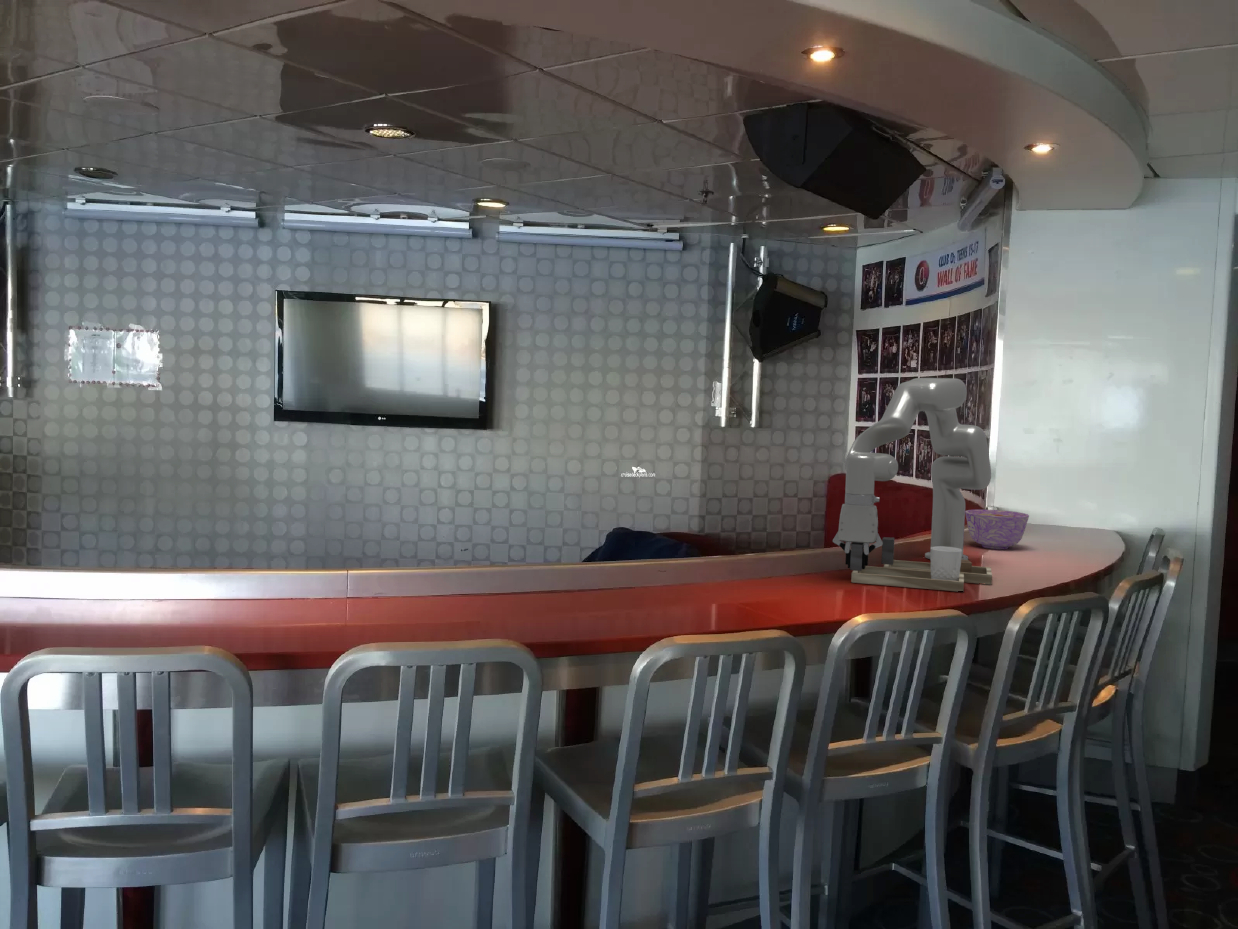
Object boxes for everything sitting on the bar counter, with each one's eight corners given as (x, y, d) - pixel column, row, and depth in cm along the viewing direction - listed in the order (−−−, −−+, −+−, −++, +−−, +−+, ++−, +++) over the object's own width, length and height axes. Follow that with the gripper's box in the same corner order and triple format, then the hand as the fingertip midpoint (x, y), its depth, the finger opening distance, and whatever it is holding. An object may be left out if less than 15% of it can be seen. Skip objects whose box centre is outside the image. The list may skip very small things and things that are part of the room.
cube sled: (883, 567, 281) (884, 535, 280) (990, 576, 271) (992, 542, 271) (879, 575, 269) (881, 541, 268) (991, 584, 259) (993, 549, 258)
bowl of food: (954, 546, 325) (955, 512, 324) (976, 540, 340) (978, 508, 340) (1015, 554, 312) (1017, 518, 311) (1035, 547, 327) (1037, 513, 327)
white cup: (956, 584, 259) (958, 547, 259) (963, 590, 252) (965, 551, 251) (925, 582, 260) (927, 545, 260) (932, 588, 252) (934, 550, 252)
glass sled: (852, 573, 270) (854, 539, 269) (963, 582, 260) (965, 547, 260) (847, 582, 258) (849, 546, 257) (963, 591, 248) (965, 555, 248)
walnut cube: (948, 576, 271) (949, 559, 270) (967, 577, 270) (968, 559, 270) (951, 580, 266) (952, 562, 265) (971, 581, 265) (971, 563, 265)
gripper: (891, 500, 263) (888, 568, 264) (830, 497, 268) (827, 563, 269) (889, 503, 256) (886, 572, 257) (826, 500, 261) (824, 567, 262)
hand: (856, 567), depth 263 cm, fingers closed on glass sled, 3 cm apart
